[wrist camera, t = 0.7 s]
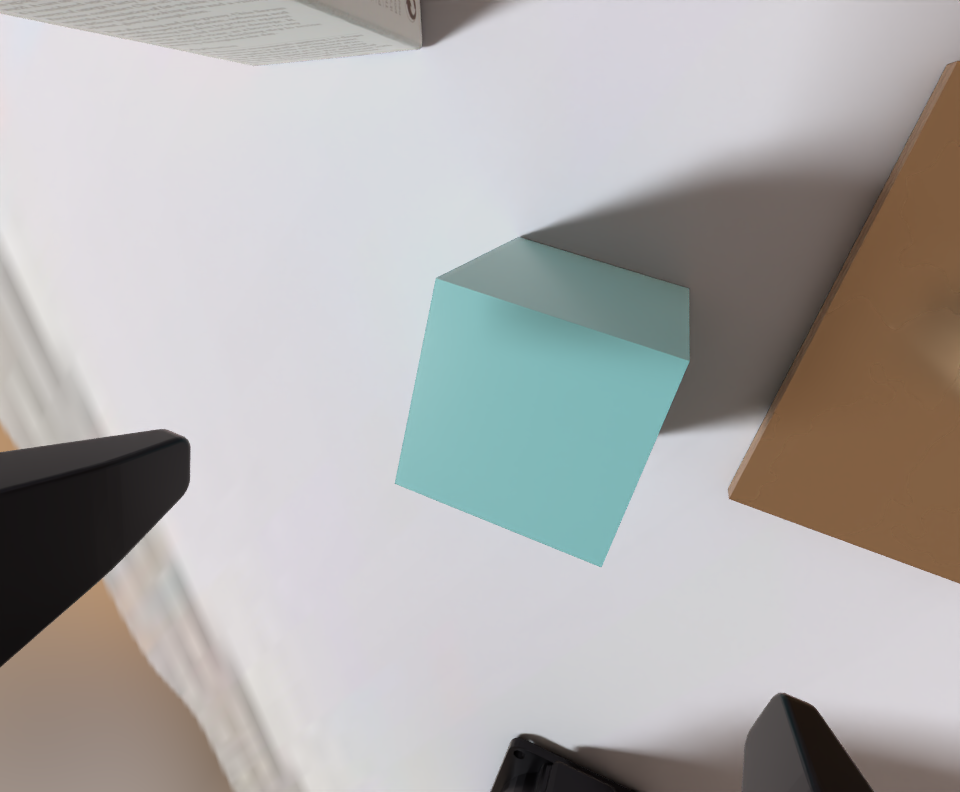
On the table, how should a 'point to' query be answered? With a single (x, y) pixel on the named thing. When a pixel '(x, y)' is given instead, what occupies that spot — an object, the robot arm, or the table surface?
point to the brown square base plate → (881, 373)
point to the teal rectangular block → (543, 392)
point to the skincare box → (242, 25)
